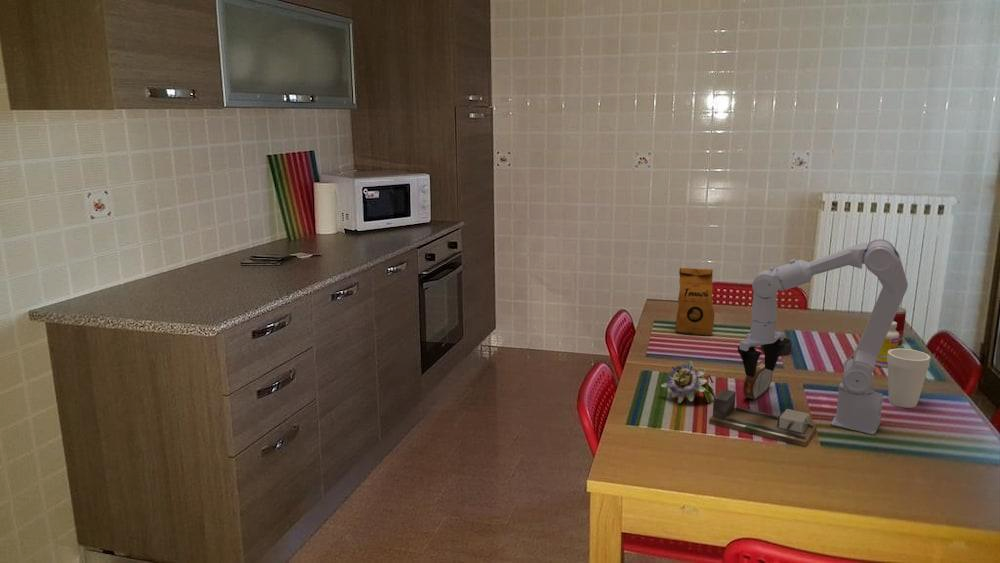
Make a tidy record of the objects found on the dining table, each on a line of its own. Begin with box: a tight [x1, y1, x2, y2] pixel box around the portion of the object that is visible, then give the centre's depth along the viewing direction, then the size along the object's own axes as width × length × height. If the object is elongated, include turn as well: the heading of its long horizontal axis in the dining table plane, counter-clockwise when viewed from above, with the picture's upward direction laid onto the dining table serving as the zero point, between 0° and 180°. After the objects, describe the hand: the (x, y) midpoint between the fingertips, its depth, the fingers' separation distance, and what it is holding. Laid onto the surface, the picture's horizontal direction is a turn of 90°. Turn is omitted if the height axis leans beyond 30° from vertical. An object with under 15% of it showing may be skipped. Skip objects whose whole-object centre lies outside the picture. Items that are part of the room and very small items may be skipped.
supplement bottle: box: [875, 321, 899, 368], centre depth 214 cm, size 7×7×13 cm
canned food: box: [893, 306, 907, 346], centre depth 234 cm, size 8×8×11 cm
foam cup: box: [887, 348, 931, 409], centre depth 186 cm, size 10×9×13 cm
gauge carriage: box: [777, 408, 810, 434], centre depth 168 cm, size 6×8×3 cm
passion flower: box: [660, 360, 716, 404], centre depth 190 cm, size 11×11×12 cm
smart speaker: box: [760, 337, 793, 356], centre depth 227 cm, size 9×9×4 cm
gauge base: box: [708, 388, 818, 447], centre depth 173 cm, size 22×10×6 cm, turn 54°
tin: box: [742, 359, 774, 400], centre depth 193 cm, size 15×3×8 cm, turn 141°
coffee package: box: [675, 267, 715, 336], centre depth 244 cm, size 10×12×22 cm
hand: (759, 372), depth 182 cm, fingers open, 7 cm apart
